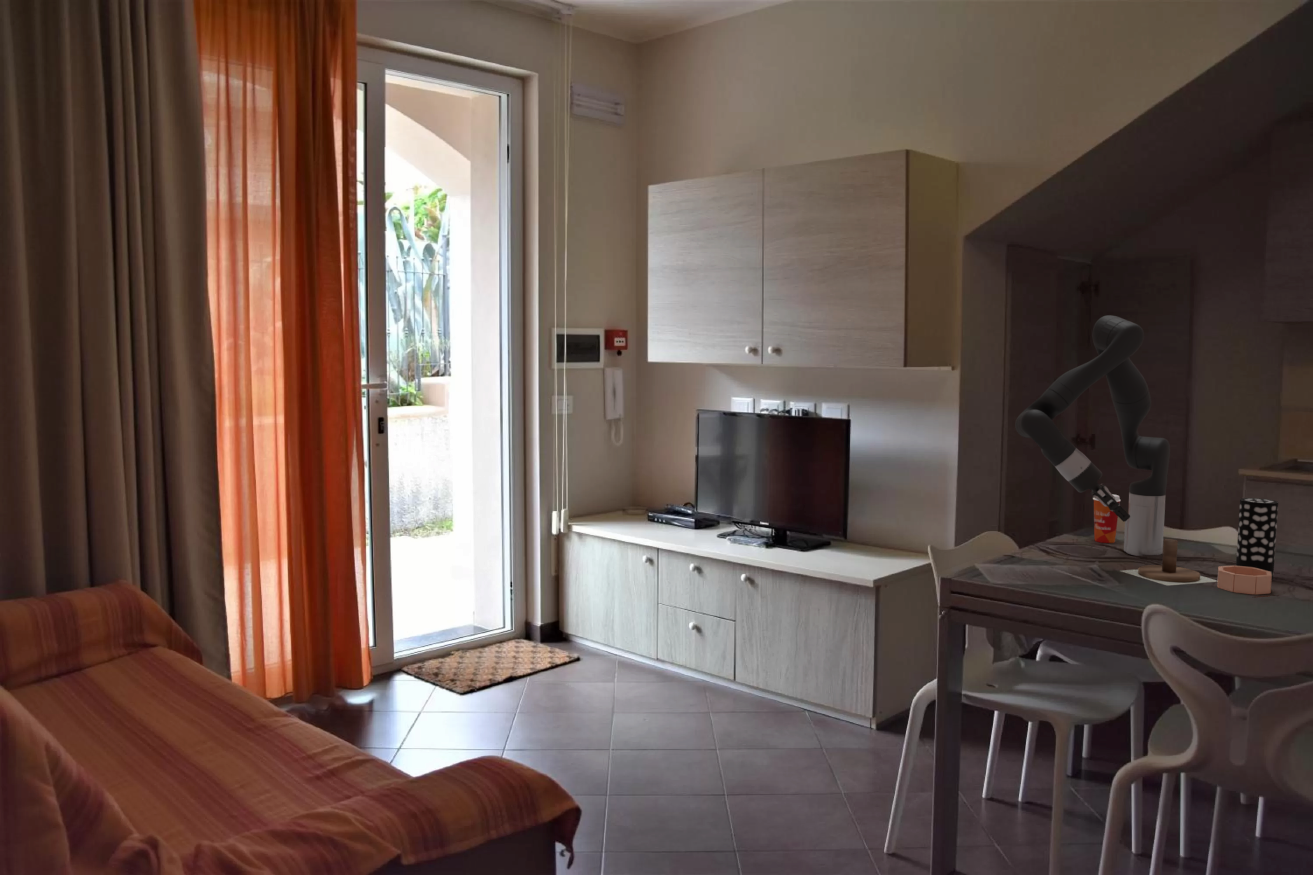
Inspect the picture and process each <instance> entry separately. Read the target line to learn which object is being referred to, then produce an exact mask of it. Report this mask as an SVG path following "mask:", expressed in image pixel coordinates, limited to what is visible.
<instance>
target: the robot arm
mask: <svg viewBox="0 0 1313 875" xmlns="http://www.w3.org/2000/svg"><path fill="white" fill-rule="evenodd" d="M1144 333H1145V332H1144V329H1143V328H1142V327H1141V326H1140V325H1139V324H1137V323H1135V322H1132V321H1130V320H1128V319H1124V318H1122V317H1120V316H1118V315H1117V316H1116V315H1110V314H1109V315H1104V316H1101V317H1100V318H1099V319H1098V320H1097V321H1096V322H1095V323H1094V325H1093V329H1092V333H1091V334H1092V341H1093V342H1092V343H1093V345H1094V348H1095V350H1096V353H1097V354H1098V356H1096V357H1094V358H1093V359H1091V360H1089V361H1088V362H1084V363H1082V364H1081V365H1079V366H1076V367H1074V368H1072V369H1070V370H1068V371H1066V372H1064V373H1063V374H1061V375H1060V376H1058V378H1057V379H1056V380H1055V381H1054V382H1052V383H1051V384H1050V385H1049V387H1047V388H1046V390H1044V392H1043V393H1042V394H1041V395H1040V396H1039V397H1038V398H1037V399H1036V400H1035V401H1033V402H1032V403H1031V404H1030V405H1028V406H1027V408H1025V409H1024V410H1023V411H1022V412H1020V414H1019V415H1018V417H1016V420H1015V423H1014V427H1015V430H1016V432H1017V434H1018V435H1020V436H1021V437H1022V438H1027V439H1031V440H1033V442H1035V444H1037V446H1038V447H1039V448H1040V450H1041V453H1042V455H1043V456H1044V457H1045V458H1046V459H1047V460H1048V462H1050V463H1051V464H1052V466H1054V467H1055V469H1056V470H1057V471H1058V472H1059V474H1060V475H1061V476H1062V477H1063V479H1065V480H1066V482H1068V483H1069V484H1070V485H1071V486H1072V487H1073V488H1074V490H1076V491H1077V492H1078V493H1084V492H1086V491H1087V490H1091V492H1090V495H1091V496H1092V498H1095V499H1096V500H1099V501H1100V502H1101V503H1102V504H1103V505H1104V506H1107V507H1109V509H1110V510H1111V511H1113V512H1114V513H1115V514H1116V515H1117V516H1118V519H1120V520H1121V521H1122V523H1123V522H1124V538H1123V551H1124V552H1125V553H1126V554H1129V555H1131V556H1137V557H1138V556H1139V557H1141V556H1159V555H1163V541H1164V529H1165V515H1166V514H1165V513H1166V512H1165V510H1166V494H1167V493H1166V491H1167V486H1168V485H1167V484H1168V473H1169V466H1170V456H1171V446H1170V442H1169V440H1168V439H1166V438H1164V437H1157V436H1156V437H1155V436H1154V437H1152V436H1141V435H1140V434H1139V431H1138V429H1139V426H1140V425H1141V424H1142V422H1143V420H1144V419H1145V418H1146V416H1147V415H1148V413H1149V412H1150V410H1151V407H1152V399H1151V394H1150V390H1149V387H1148V383H1147V382H1146V379H1145V378H1144V376H1143V374H1142V373H1141V372H1140V370H1139V369H1138V367H1137V366H1136V365H1135V364H1134V363H1133V361H1132V360H1131V357H1132V356H1133V355H1134V354H1135V353H1136V352H1138V350H1139V349H1140V347H1141V346H1142V344H1143V342H1144V339H1145V334H1144ZM1103 377H1106V381H1107V384H1108V388H1109V392H1110V397H1111V401H1112V403H1113V408H1114V410H1115V414H1116V416H1117V421H1118V424H1119V428H1120V434H1121V440H1122V449H1123V454H1124V458H1125V461H1126V464H1127V465H1128V467H1130V468H1131V469H1132V468H1133V469H1135V470H1145V471H1146V470H1147V471H1151V474H1150V476H1148V477H1147V478H1144V479H1141V480H1136V481H1131V483H1130V484H1129V488H1128V489H1129V490H1128V491H1129V492H1128V511H1126V510H1125V509H1124V508H1123V507H1122V506H1121V503H1119V502H1117V501H1116V500H1115V497H1114V496H1113V495H1114V494H1113V493H1112V492H1110V490H1109V488H1108V487H1107V486H1106V485H1105V484H1104V483H1103V482H1102V483H1101V484H1100V483H1098V482H1099V481H1100V479H1102V476H1103V472H1102V471H1101V470H1100V469H1099V468H1098V467H1097V466H1096V465H1095V464H1094V463H1093V462H1092V461H1091V460H1090V459H1089V457H1087V456H1086V455H1085V454H1084V453H1083V452H1082V451H1080V450H1079V449H1078V448H1077V447H1075V446H1074V444H1073V443H1072V442H1071V441H1069V439H1068V438H1067V437H1066V436H1064V435H1063V434H1062V432H1061V430H1060V429H1059V428H1058V427H1057V425H1056V424H1055V422H1054V421H1053V420H1054V419H1055V418H1056V417H1057V416H1059V415H1061V414H1062V413H1064V412H1065V411H1066V410H1067V409H1068V408H1069V407H1070V406H1071V405H1072V404H1073V403H1074V402H1075V401H1076V400H1077V399H1078V398H1079V397H1080V396H1081V395H1082V394H1083V393H1084V392H1085V391H1087V390H1088V389H1089V388H1090V387H1091V386H1092V385H1094V384H1095V383H1097V381H1099V380H1101V379H1102V378H1103ZM1112 494H1113V495H1112Z"/></svg>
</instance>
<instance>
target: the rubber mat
mask: <svg viewBox="0 0 1313 875" xmlns="http://www.w3.org/2000/svg"><path fill="white" fill-rule="evenodd" d="M1120 572H1121V573H1125V574H1128V575H1131V576H1135V577H1138V578H1142V579H1143V580H1144V579H1145V580H1147V581H1150V582H1154V583H1158V584H1160V585H1164V586H1167V587H1169V586H1179V585H1193V584H1206V583H1216V582H1217V581H1218V579H1217V580H1216V579H1214V578H1213V579H1212V578H1209V577H1206V576H1203V575H1200V580H1199V581H1196V582H1188V583H1179V582H1166V581H1159V580H1154V579H1149V578H1146V577H1143V576H1141V575H1139V574H1138V568H1136V569H1126V570H1120Z"/></svg>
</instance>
